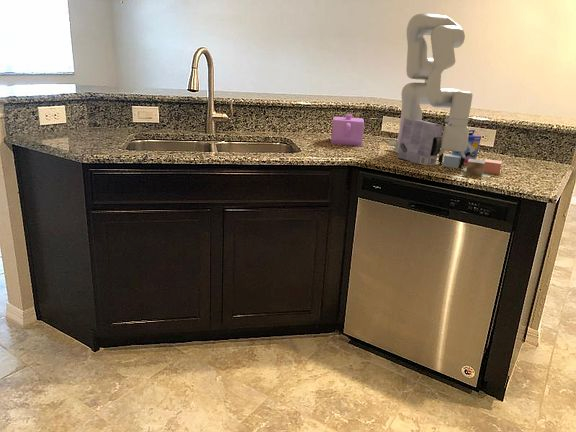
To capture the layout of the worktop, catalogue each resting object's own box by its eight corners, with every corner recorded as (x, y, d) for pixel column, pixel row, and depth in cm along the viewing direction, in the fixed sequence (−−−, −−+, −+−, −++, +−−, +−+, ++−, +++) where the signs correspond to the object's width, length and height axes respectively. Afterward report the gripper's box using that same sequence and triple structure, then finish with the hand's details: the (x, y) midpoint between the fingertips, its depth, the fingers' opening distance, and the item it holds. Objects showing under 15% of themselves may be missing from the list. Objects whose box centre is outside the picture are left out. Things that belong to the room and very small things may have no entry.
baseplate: (459, 175, 184) (460, 173, 183) (461, 171, 190) (461, 169, 189) (487, 179, 180) (487, 177, 180) (488, 175, 186) (488, 173, 186)
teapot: (360, 138, 250) (363, 112, 245) (362, 148, 226) (365, 118, 221) (331, 136, 251) (334, 110, 246) (330, 145, 227) (333, 116, 223)
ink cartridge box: (458, 164, 202) (464, 130, 197) (449, 161, 207) (455, 128, 202) (476, 163, 206) (482, 130, 201) (467, 160, 211) (473, 128, 206)
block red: (482, 173, 188) (485, 161, 187) (483, 170, 194) (486, 159, 192) (498, 176, 186) (501, 163, 184) (499, 173, 191) (501, 161, 190)
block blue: (442, 168, 194) (444, 156, 192) (444, 165, 199) (446, 153, 198) (457, 170, 192) (459, 158, 190) (458, 167, 197) (461, 155, 195)
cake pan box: (438, 167, 195) (445, 124, 190) (429, 168, 193) (436, 124, 187) (404, 157, 211) (410, 117, 205) (396, 158, 208) (401, 117, 202)
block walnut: (465, 174, 182) (467, 161, 181) (466, 170, 188) (469, 158, 186) (482, 176, 180) (484, 163, 179) (482, 173, 185) (485, 160, 184)
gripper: (434, 121, 190) (427, 164, 195) (480, 126, 183) (471, 170, 189) (436, 119, 196) (430, 161, 202) (481, 123, 190) (473, 166, 195)
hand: (450, 165), depth 195 cm, fingers open, 7 cm apart
